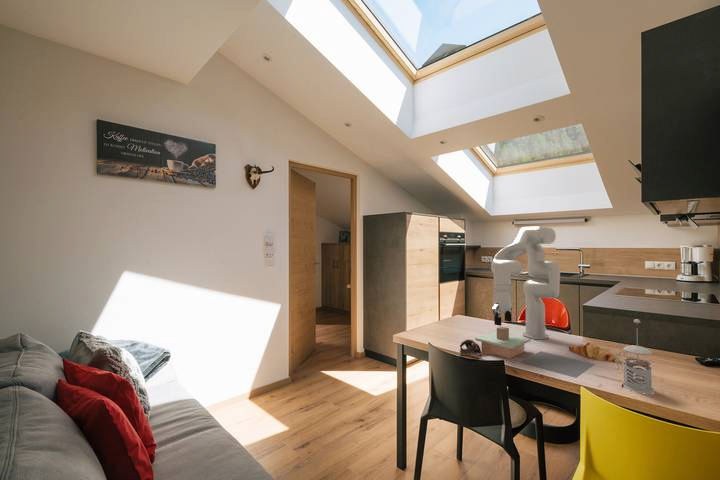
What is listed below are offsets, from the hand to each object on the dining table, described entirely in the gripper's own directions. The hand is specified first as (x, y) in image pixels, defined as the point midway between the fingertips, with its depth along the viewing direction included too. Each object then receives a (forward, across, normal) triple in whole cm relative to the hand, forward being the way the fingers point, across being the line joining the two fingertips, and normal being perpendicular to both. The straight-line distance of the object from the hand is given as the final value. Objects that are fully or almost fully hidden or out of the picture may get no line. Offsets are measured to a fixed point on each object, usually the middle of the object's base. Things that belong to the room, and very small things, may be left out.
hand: (503, 323), depth 163 cm
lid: (+8, +1, 0) cm, 8 cm away
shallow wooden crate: (+14, +1, 0) cm, 14 cm away
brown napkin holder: (+14, +14, -9) cm, 22 cm away
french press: (+14, +1, +50) cm, 52 cm away
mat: (+14, -1, +23) cm, 27 cm away
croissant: (+15, -22, +30) cm, 41 cm away
